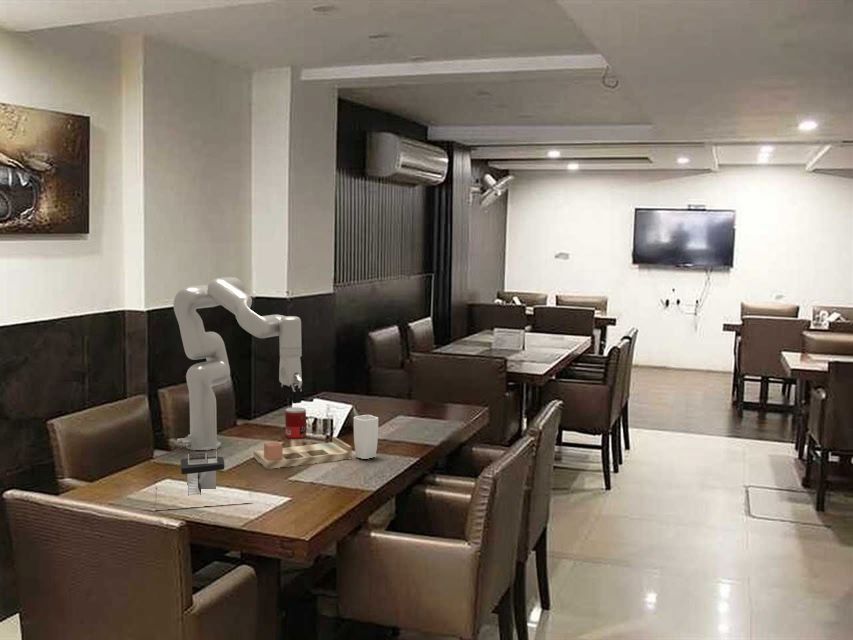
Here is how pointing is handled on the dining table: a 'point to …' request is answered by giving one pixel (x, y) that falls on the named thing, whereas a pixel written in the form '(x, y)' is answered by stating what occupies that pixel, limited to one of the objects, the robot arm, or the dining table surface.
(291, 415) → the canned food
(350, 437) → the dining table surface
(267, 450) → the block
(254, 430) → the dining table surface
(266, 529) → the dining table surface
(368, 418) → the cup
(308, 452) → the board
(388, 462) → the dining table surface
